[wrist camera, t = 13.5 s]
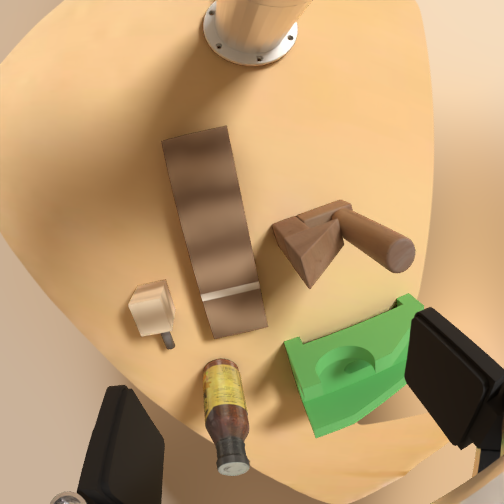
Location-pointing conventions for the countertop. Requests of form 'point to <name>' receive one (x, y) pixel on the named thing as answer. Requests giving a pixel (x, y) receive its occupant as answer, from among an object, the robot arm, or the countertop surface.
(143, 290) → the block
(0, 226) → the countertop surface
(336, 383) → the green cradle stand
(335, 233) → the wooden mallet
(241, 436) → the sauce bottle
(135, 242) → the countertop surface
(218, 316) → the walnut board
